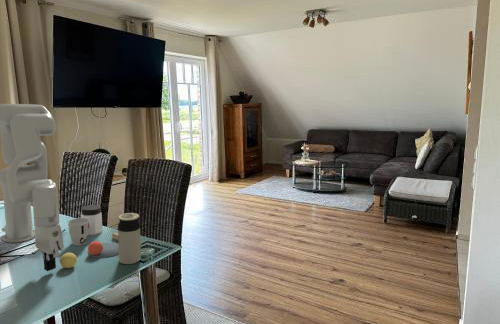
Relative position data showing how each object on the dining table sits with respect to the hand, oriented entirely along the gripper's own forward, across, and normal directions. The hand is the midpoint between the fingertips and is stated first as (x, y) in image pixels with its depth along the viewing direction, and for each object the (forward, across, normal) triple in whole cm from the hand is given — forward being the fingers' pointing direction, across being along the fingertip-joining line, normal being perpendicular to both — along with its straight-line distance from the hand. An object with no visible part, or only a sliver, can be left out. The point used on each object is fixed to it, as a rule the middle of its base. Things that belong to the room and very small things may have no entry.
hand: (50, 269), depth 122 cm
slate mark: (+2, 0, -23) cm, 23 cm away
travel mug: (+2, -14, -23) cm, 27 cm away
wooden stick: (+2, 0, -33) cm, 33 cm away
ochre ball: (-1, -1, -6) cm, 6 cm away
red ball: (-1, 0, -18) cm, 18 cm away
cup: (+2, +15, -21) cm, 26 cm away
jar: (+2, +22, -32) cm, 38 cm away
